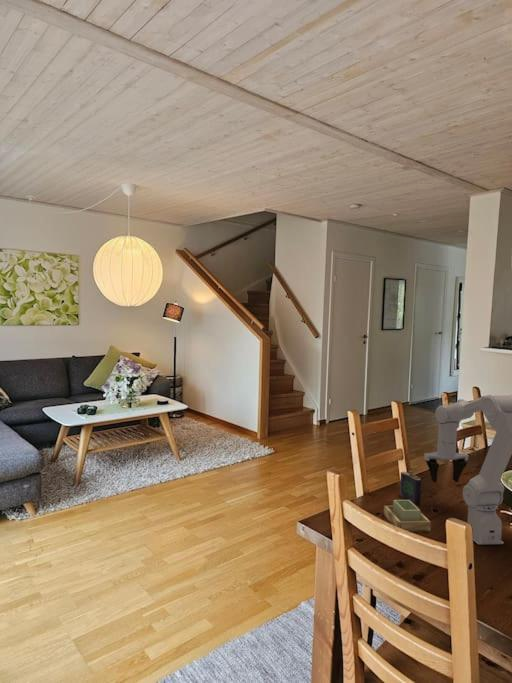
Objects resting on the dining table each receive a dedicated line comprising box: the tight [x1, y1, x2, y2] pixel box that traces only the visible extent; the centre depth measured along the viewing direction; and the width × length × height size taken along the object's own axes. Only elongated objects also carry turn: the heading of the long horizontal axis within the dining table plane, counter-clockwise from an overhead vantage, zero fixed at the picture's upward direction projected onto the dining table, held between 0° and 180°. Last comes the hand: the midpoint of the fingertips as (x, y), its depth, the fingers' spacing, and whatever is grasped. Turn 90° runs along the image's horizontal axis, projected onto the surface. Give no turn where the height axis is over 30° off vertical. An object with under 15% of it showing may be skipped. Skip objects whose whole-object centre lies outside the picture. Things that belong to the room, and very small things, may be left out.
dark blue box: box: [399, 469, 422, 506], centre depth 160 cm, size 9×3×11 cm, turn 24°
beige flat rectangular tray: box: [383, 505, 432, 533], centre depth 143 cm, size 12×10×3 cm
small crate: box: [392, 499, 422, 521], centre depth 143 cm, size 8×5×5 cm
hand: (444, 480), depth 153 cm, fingers open, 7 cm apart
